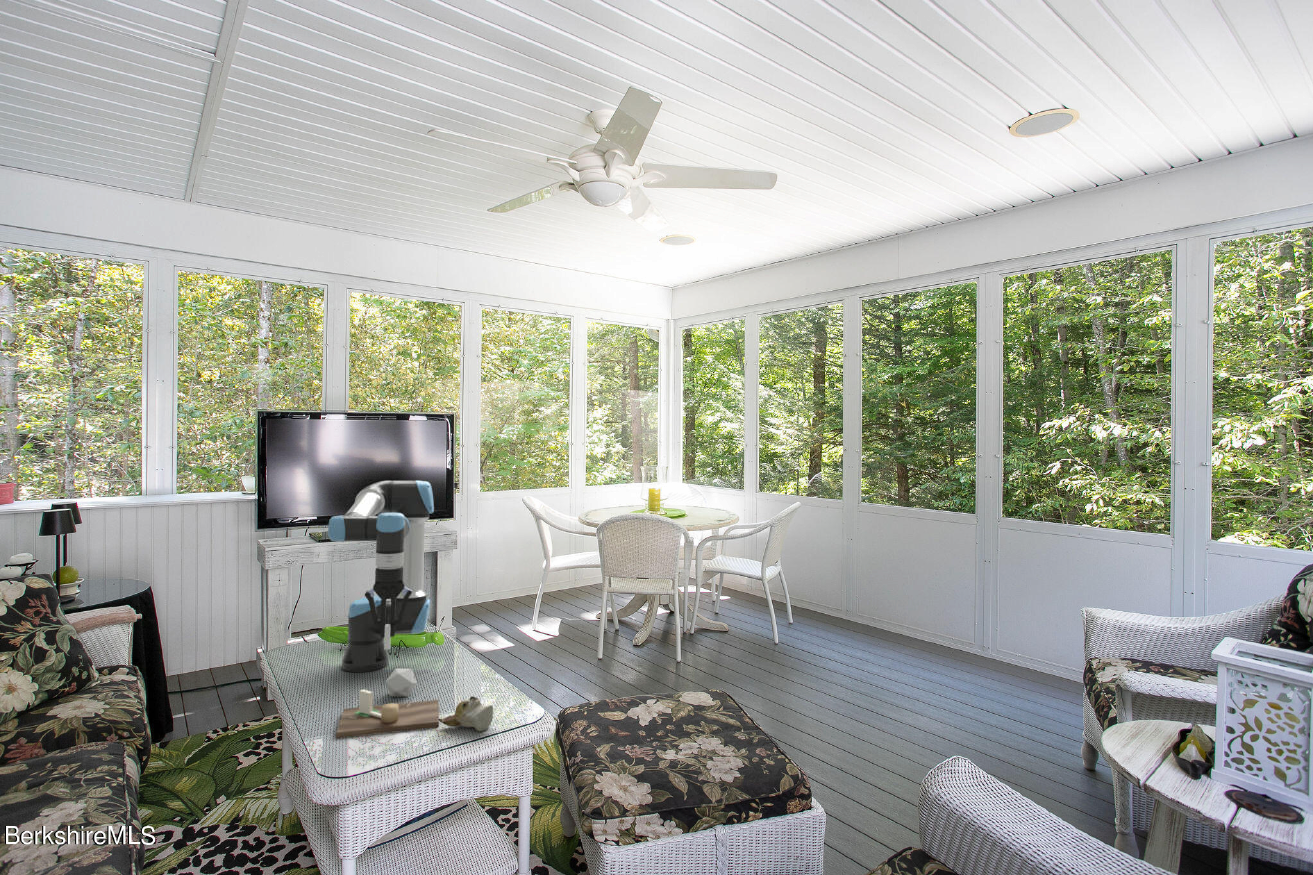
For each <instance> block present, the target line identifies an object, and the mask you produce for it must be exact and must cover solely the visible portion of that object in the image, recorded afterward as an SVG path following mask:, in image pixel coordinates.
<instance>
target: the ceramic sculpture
mask: <svg viewBox="0 0 1313 875" xmlns="http://www.w3.org/2000/svg"><path fill="white" fill-rule="evenodd" d="M493 719H494V707H493V705H492V704H490V705H489V704H488V705H483V704H482V702H481V700H480V699H479V698H478V697H475V696H470V697H469V698H467V699H464V700H462V701H460V702H459V703H458V704H457V705H456V707H455V711H454V714H453V715H448V716H446V717H444V718H439V719H438V720H439V723H442V724H443V725H445V726H447V727H458V726H460V727H462V728H475V730H476V731H477V732H484V731H486V730H488V728H489V727H490V726H491V724H492V722H493Z"/></svg>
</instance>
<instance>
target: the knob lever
mask: <svg viewBox="0 0 1313 875" xmlns="http://www.w3.org/2000/svg"><path fill="white" fill-rule="evenodd" d="M358 696H359V698H358V699H359V702H358V703H359V704H358V707H359V712H362V713H365V714H368V715H373V716H376V717H379V718H381V721H382V722H384V723H391V722H395V721H397V720H398V708H399V705H398V704H399V703H396V702H395V703H393V702H392V703H386V704H382V705H383V706H382V710H381V714H380V713H377V712H373V706H374V705H373V702H374V691H370V690H367V689H364V688H363V689H361V690H359V695H358Z"/></svg>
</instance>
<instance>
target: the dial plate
mask: <svg viewBox="0 0 1313 875" xmlns="http://www.w3.org/2000/svg"><path fill="white" fill-rule="evenodd" d="M397 704H398V705H399V708H398V720H397V721H395V722H391V723H384V722H382V721H381V718H379V717H376V716H373V715H368V714H365V713H362V712H359V706H358V707H348V708H343V711H342V713H341V717H340V720H339V724H338V726H337V729H336V733H335V734H336V735H335V738H336V739H341V738H350V737H358V736H370V735H377V734H387V733H388V734H389V733H397V732H404V731H405V732H407V731H415V730H422V729H423V730H424V729H433V728H439V727H440V721H439V720H438V719H440V714H439V713H440V708H439V705H440V704H439V699H432V700H421V701H409V702H401V703H399V702H398V703H397ZM383 705H384V704H381V705H378V704H377V705H373V712H377V713H380V714H381V710H382V706H383Z"/></svg>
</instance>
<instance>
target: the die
mask: <svg viewBox="0 0 1313 875" xmlns="http://www.w3.org/2000/svg"><path fill="white" fill-rule="evenodd" d="M384 683H385V685H386V687H387V690H388V692H389V694H390V697H399V698H400V697H402V698H403V697H404V698H405V697H407V698H408V697H409V696H410V694H411V692H412V691H413V689H414V688H415V687H416V685H417V684H418V682H417V678H416V677H415V674H414V672H413V669H412V668H394V670H393V671H392V672H391V674H390V675H389V676H388V677H387V679H386V681H385V682H384Z"/></svg>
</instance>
